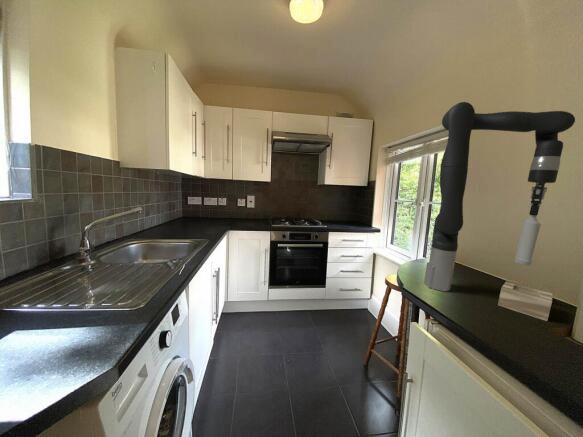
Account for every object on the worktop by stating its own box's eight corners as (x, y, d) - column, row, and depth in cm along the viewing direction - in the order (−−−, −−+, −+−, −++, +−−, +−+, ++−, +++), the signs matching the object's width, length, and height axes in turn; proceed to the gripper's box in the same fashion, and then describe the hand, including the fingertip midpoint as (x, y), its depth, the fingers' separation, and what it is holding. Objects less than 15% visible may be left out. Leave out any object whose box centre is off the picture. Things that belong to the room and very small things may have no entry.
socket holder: (547, 321, 81) (551, 301, 80) (497, 305, 91) (501, 287, 90) (548, 310, 90) (552, 292, 89) (503, 296, 100) (506, 280, 99)
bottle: (534, 266, 92) (550, 202, 89) (519, 264, 93) (534, 200, 90) (524, 262, 97) (538, 201, 94) (510, 260, 98) (523, 200, 95)
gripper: (559, 167, 83) (547, 217, 85) (558, 171, 92) (547, 216, 95) (528, 167, 88) (518, 214, 91) (530, 171, 97) (521, 213, 100)
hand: (533, 215), depth 93 cm, fingers closed on bottle, 2 cm apart
